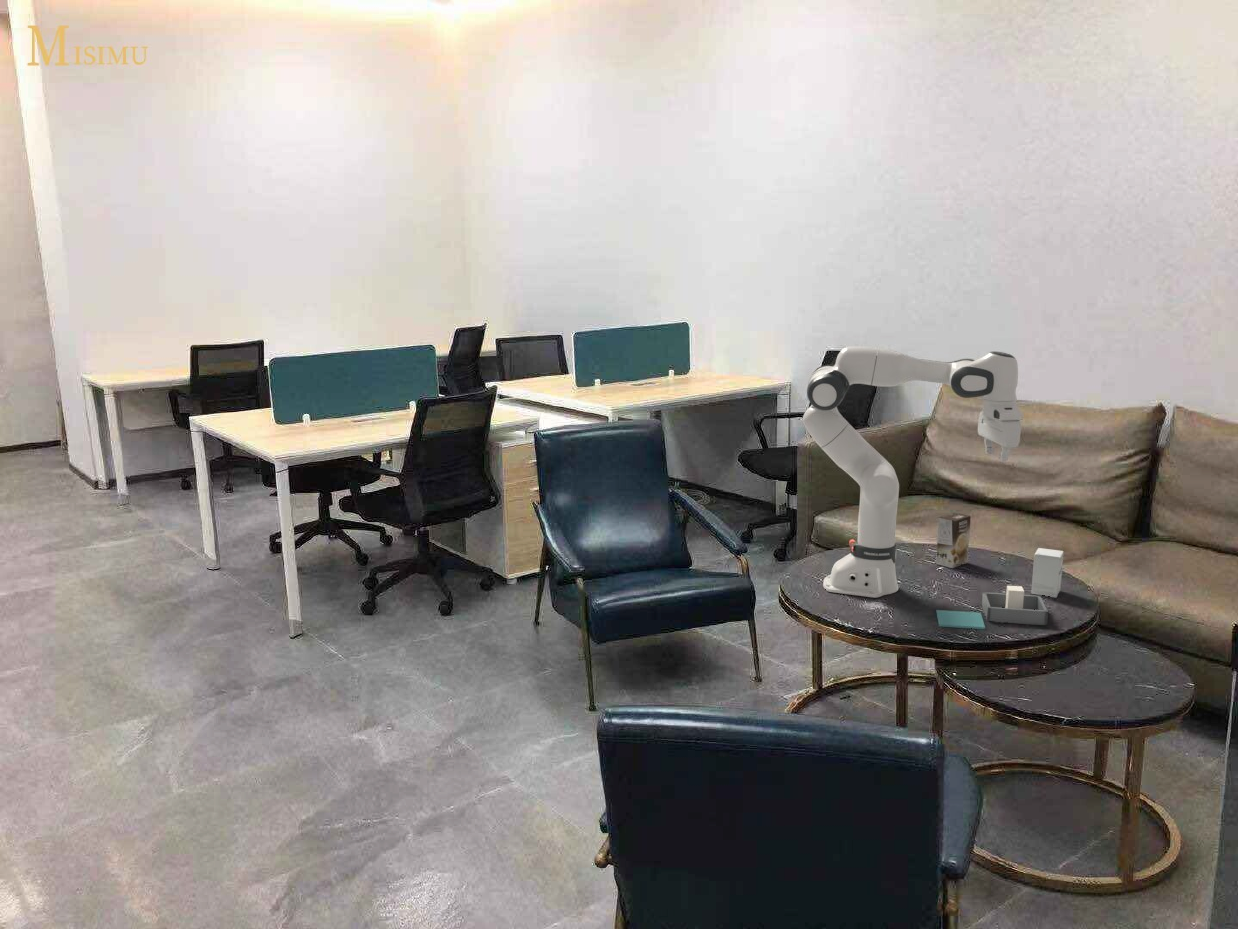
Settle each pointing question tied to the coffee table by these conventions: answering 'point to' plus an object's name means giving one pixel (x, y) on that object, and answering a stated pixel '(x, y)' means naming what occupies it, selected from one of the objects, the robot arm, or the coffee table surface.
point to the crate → (1012, 615)
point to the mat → (960, 619)
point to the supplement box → (1047, 572)
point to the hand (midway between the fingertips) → (996, 456)
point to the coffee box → (953, 540)
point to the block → (1014, 597)
